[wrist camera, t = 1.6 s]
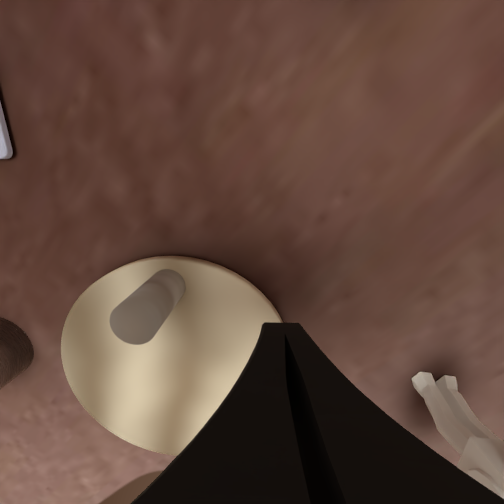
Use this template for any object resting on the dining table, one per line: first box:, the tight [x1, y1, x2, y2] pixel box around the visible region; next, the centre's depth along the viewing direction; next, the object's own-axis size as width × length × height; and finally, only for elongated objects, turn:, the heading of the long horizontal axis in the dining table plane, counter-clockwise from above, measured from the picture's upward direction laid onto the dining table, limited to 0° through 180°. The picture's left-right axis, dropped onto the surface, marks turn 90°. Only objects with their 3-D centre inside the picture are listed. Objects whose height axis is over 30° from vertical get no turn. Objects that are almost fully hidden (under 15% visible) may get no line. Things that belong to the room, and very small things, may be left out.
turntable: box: [61, 256, 283, 456], centre depth 14 cm, size 15×15×5 cm
